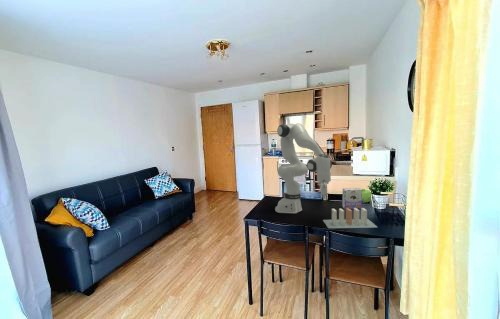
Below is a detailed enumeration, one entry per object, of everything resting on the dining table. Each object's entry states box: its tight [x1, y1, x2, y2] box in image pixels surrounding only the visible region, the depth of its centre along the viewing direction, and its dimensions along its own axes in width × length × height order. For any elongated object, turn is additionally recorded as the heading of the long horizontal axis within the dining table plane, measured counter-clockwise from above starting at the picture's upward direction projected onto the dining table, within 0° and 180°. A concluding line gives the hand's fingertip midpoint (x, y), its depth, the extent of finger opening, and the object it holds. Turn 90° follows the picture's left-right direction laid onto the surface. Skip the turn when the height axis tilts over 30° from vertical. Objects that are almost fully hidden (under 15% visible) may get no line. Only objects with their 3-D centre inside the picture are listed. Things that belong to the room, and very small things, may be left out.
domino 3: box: [345, 208, 353, 225], centre depth 153 cm, size 2×5×10 cm, turn 6°
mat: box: [322, 218, 378, 229], centre depth 154 cm, size 32×14×1 cm, turn 86°
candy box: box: [342, 187, 363, 210], centre depth 183 cm, size 14×6×16 cm, turn 84°
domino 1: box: [331, 208, 338, 225], centre depth 154 cm, size 2×5×10 cm, turn 176°
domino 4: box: [353, 208, 360, 225], centre depth 153 cm, size 2×5×10 cm, turn 176°
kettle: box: [361, 188, 372, 204], centre depth 198 cm, size 15×14×11 cm
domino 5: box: [360, 207, 368, 225], centre depth 153 cm, size 2×5×10 cm, turn 176°
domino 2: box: [338, 207, 345, 225], centre depth 154 cm, size 2×5×10 cm, turn 176°
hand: (324, 198), depth 152 cm, fingers closed
